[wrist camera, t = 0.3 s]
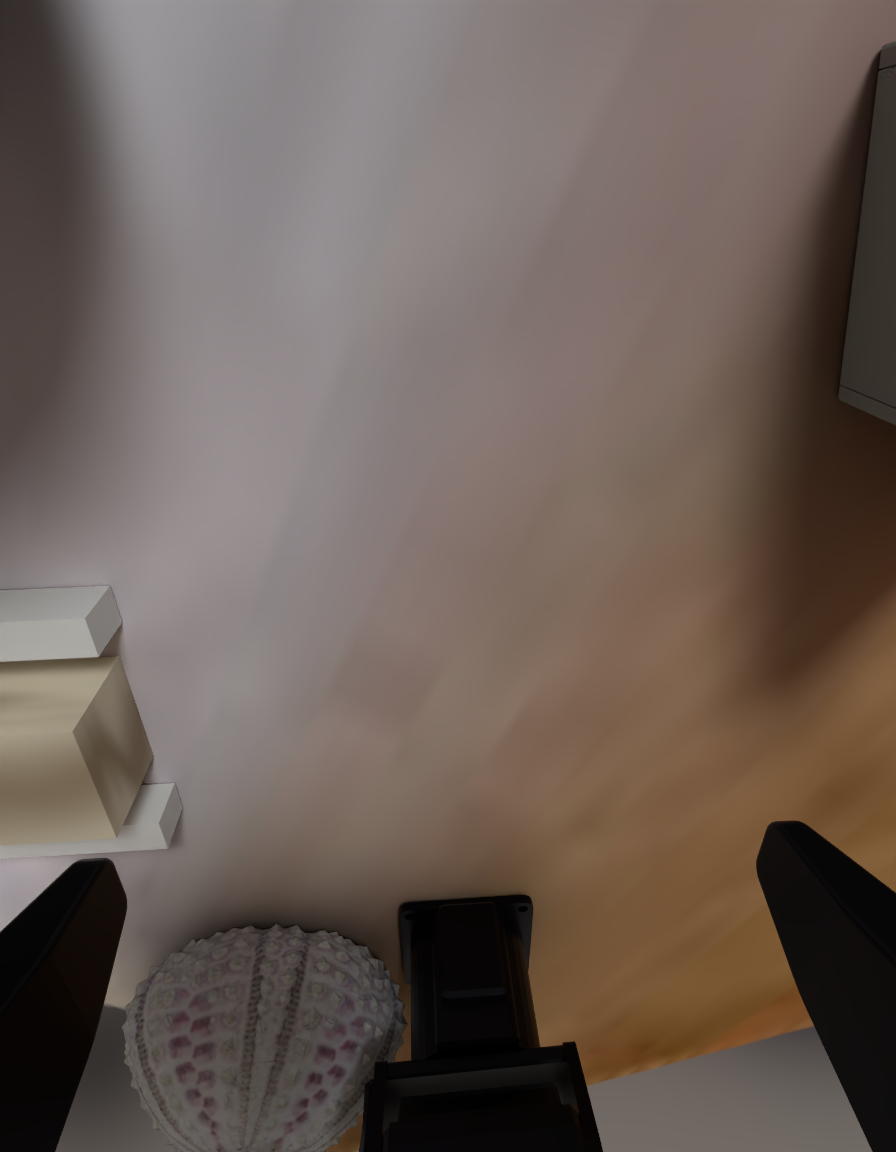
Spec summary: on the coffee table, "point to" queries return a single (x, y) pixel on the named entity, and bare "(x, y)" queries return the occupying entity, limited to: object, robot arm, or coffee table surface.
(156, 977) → the sea urchin shell
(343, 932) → the coffee table surface
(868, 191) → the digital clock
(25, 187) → the coffee table surface
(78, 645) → the channel
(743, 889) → the coffee table surface
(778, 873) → the robot arm
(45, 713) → the birch block
